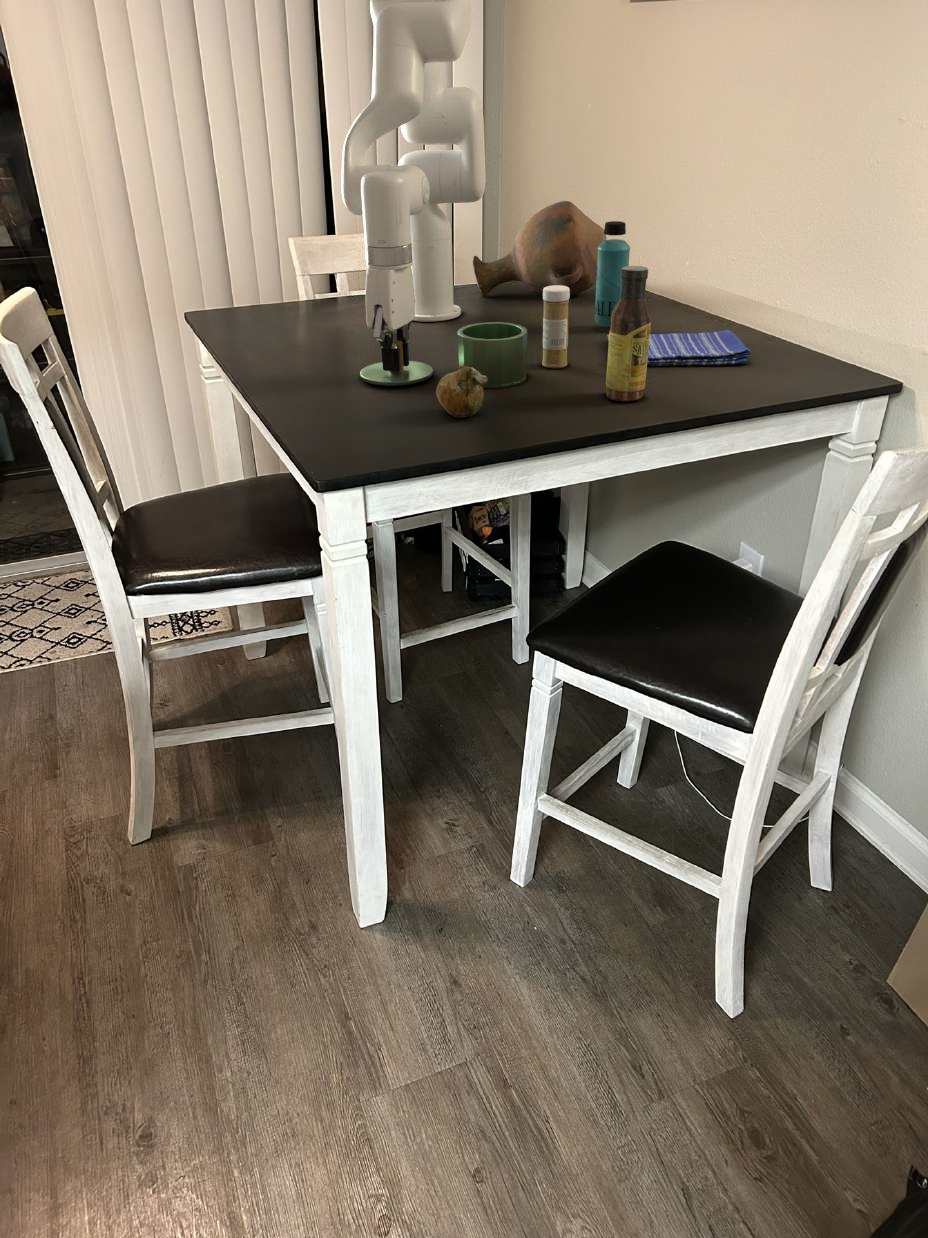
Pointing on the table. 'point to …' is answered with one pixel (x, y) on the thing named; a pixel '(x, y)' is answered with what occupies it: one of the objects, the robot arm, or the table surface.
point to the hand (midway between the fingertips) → (396, 366)
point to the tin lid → (404, 377)
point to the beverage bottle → (610, 272)
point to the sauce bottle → (629, 338)
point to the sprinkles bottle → (555, 326)
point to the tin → (494, 352)
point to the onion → (461, 392)
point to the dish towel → (696, 349)
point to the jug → (548, 253)
